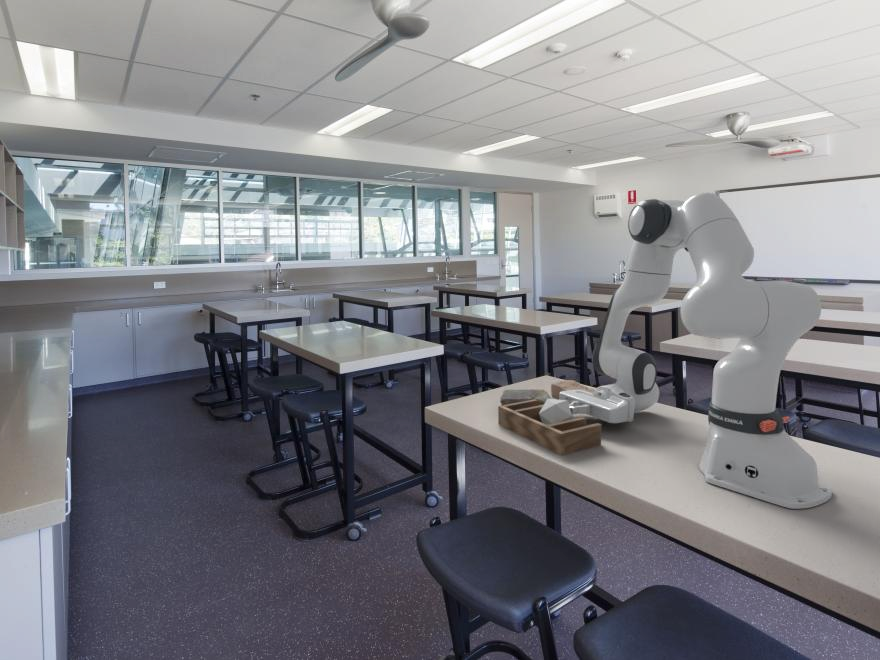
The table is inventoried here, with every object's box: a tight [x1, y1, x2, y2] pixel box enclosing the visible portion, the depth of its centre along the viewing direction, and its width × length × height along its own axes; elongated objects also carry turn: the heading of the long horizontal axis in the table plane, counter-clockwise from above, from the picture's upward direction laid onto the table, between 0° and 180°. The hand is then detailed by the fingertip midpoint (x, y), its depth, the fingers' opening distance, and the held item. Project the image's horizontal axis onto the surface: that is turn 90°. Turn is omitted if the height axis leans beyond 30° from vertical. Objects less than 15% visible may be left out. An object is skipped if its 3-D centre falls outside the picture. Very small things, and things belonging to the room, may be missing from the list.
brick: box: [550, 379, 595, 400], centre depth 158 cm, size 17×8×5 cm, turn 22°
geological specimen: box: [499, 389, 552, 406], centre depth 149 cm, size 11×6×15 cm
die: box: [539, 398, 575, 425], centre depth 132 cm, size 8×9×10 cm
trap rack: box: [497, 399, 602, 456], centre depth 130 cm, size 25×12×5 cm, turn 28°
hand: (569, 409), depth 133 cm, fingers closed
